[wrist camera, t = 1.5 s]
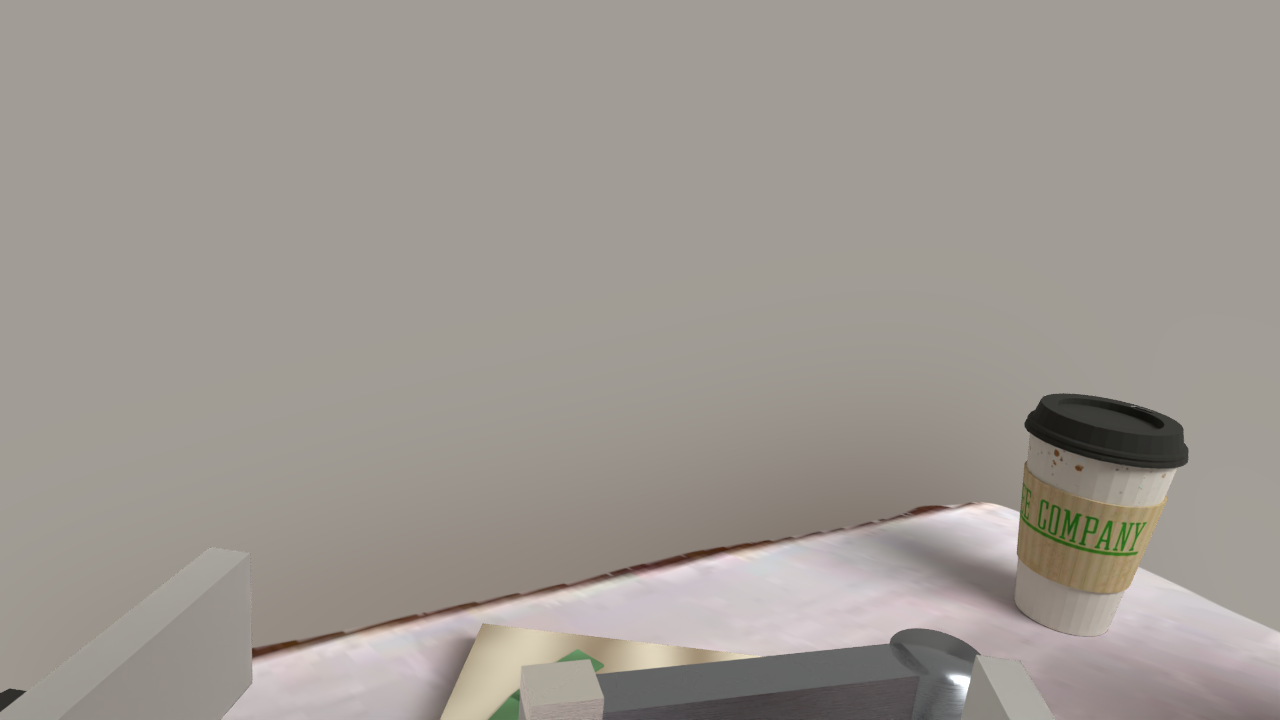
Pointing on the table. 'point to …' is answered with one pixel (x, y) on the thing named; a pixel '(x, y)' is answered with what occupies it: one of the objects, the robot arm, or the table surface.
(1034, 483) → the coffee cup
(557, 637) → the board
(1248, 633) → the table surface
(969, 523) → the table surface
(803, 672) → the grey flat rounded-edge slab
